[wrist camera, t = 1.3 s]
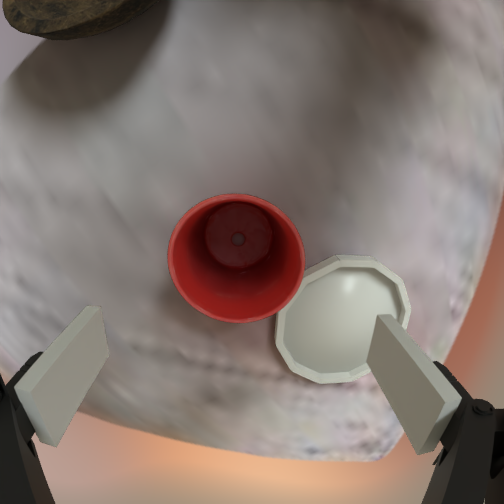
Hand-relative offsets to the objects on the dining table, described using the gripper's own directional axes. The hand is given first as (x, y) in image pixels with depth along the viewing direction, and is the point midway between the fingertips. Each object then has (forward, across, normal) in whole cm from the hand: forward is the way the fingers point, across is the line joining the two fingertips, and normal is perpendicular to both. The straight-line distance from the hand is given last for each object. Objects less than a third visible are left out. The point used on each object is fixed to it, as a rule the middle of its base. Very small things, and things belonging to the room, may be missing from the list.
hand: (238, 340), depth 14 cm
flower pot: (+21, 0, 0) cm, 21 cm away
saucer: (+21, +13, -10) cm, 26 cm away
